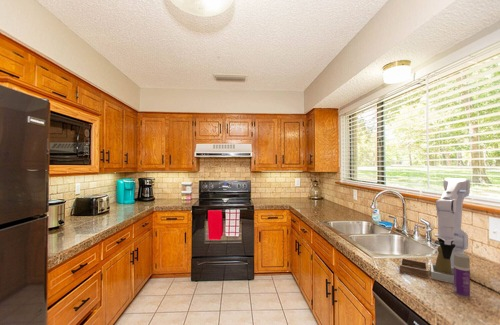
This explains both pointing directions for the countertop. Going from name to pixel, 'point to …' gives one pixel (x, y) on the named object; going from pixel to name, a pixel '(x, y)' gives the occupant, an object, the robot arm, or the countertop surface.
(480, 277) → the countertop surface
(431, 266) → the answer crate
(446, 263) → the olive rounded piece
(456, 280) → the container
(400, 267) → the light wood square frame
